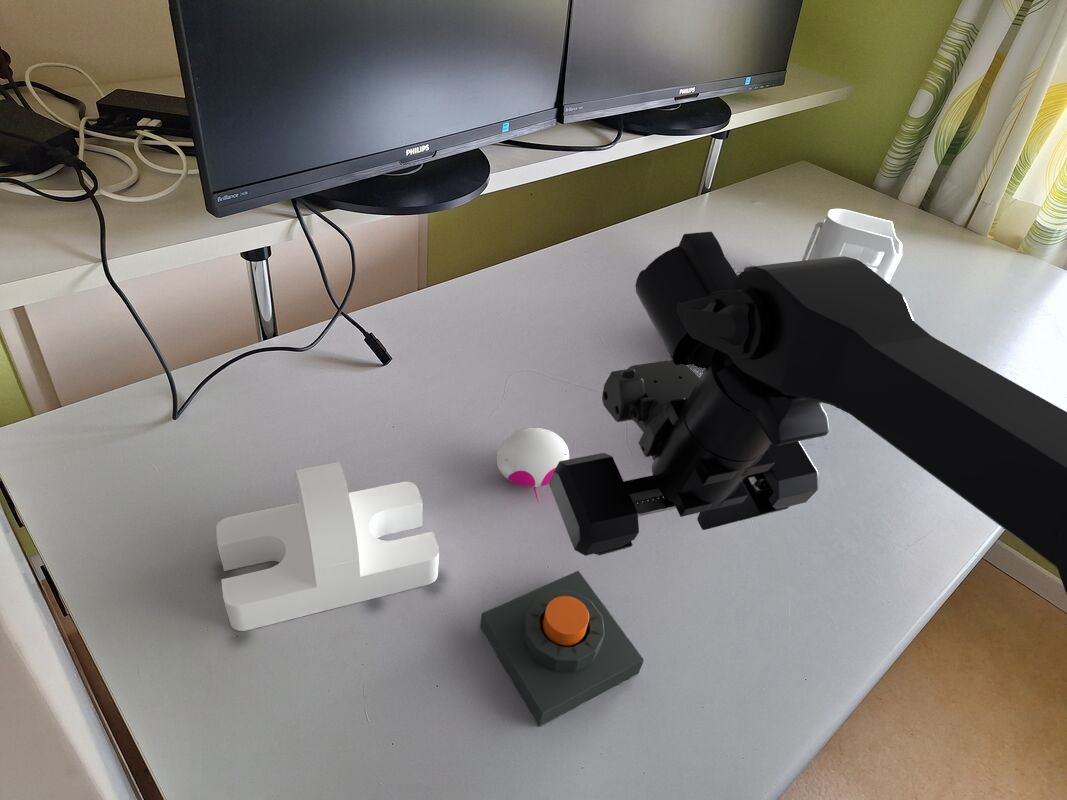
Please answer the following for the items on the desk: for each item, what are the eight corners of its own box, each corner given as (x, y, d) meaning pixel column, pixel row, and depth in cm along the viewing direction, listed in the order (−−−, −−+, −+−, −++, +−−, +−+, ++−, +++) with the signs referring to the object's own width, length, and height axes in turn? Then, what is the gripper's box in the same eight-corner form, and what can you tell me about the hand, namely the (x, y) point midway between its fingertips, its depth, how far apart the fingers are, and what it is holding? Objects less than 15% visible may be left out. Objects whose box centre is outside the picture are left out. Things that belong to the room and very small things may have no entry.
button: (594, 635, 63) (597, 623, 61) (557, 653, 61) (560, 641, 60) (570, 601, 65) (573, 589, 64) (534, 618, 63) (537, 606, 62)
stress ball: (497, 512, 80) (505, 505, 74) (489, 438, 82) (497, 425, 76) (566, 505, 82) (580, 498, 75) (557, 433, 83) (570, 419, 77)
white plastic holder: (874, 314, 113) (909, 243, 105) (791, 290, 115) (819, 219, 108) (875, 293, 118) (909, 223, 110) (795, 271, 120) (823, 201, 113)
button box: (639, 673, 64) (649, 647, 62) (539, 727, 60) (545, 702, 57) (574, 584, 71) (581, 557, 68) (479, 627, 66) (482, 600, 63)
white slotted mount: (441, 581, 69) (445, 503, 62) (231, 634, 63) (209, 553, 56) (414, 504, 76) (415, 425, 69) (221, 545, 69) (200, 463, 62)
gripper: (787, 310, 54) (707, 432, 67) (546, 343, 48) (507, 471, 60) (872, 437, 49) (768, 545, 61) (611, 494, 42) (553, 601, 55)
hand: (650, 536), depth 59 cm, fingers open, 9 cm apart
